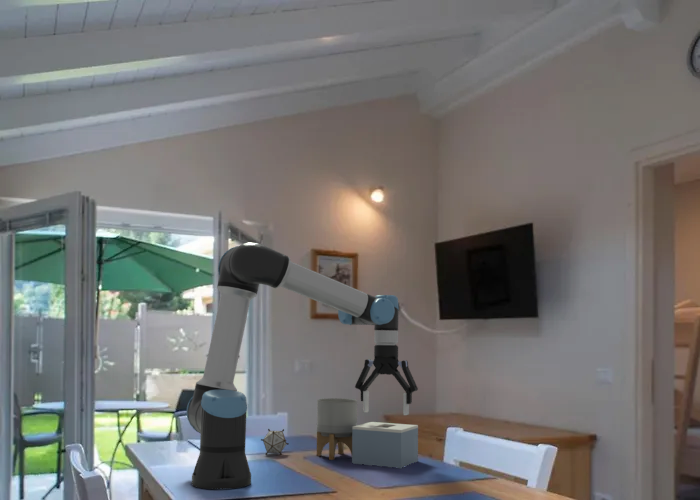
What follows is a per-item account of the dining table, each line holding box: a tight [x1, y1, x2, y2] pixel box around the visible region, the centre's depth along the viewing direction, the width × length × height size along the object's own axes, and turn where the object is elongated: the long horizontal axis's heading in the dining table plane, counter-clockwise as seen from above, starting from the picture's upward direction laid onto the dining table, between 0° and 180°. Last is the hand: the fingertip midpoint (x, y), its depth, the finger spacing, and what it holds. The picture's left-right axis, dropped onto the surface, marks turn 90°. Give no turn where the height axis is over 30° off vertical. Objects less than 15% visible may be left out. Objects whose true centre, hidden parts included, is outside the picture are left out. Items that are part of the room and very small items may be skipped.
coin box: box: [351, 421, 419, 469], centre depth 218 cm, size 14×16×11 cm
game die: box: [260, 428, 289, 456], centre depth 230 cm, size 9×8×10 cm
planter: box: [316, 397, 358, 461], centre depth 228 cm, size 13×13×18 cm
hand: (385, 413), depth 219 cm, fingers open, 13 cm apart
